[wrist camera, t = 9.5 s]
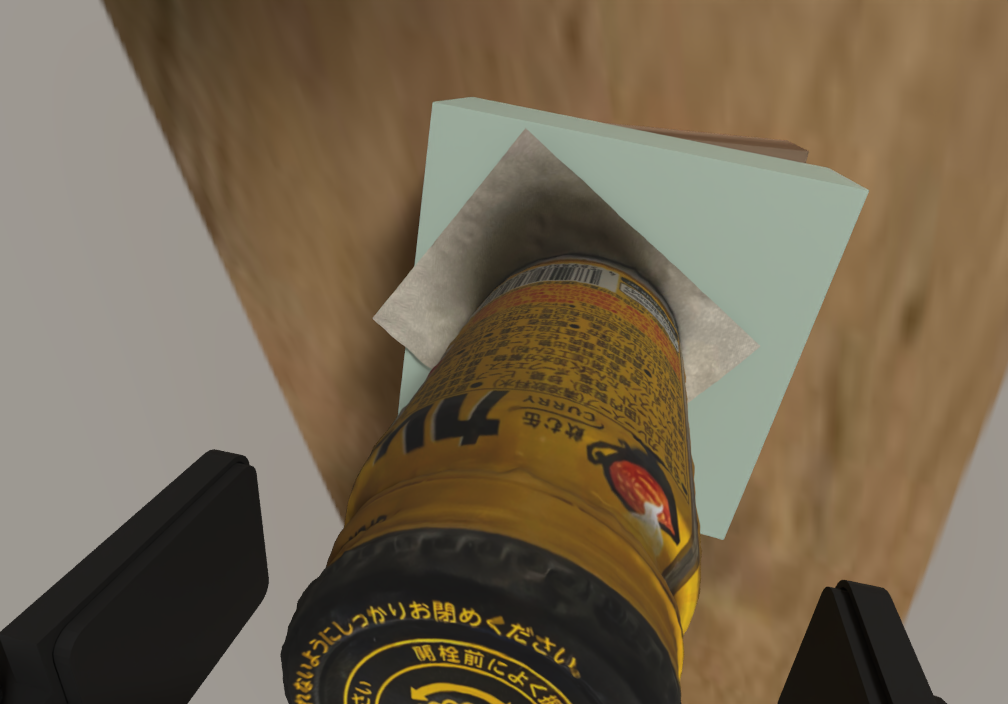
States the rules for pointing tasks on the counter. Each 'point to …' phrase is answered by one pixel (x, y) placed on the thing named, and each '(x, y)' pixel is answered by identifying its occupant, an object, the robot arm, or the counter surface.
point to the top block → (679, 251)
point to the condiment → (525, 467)
